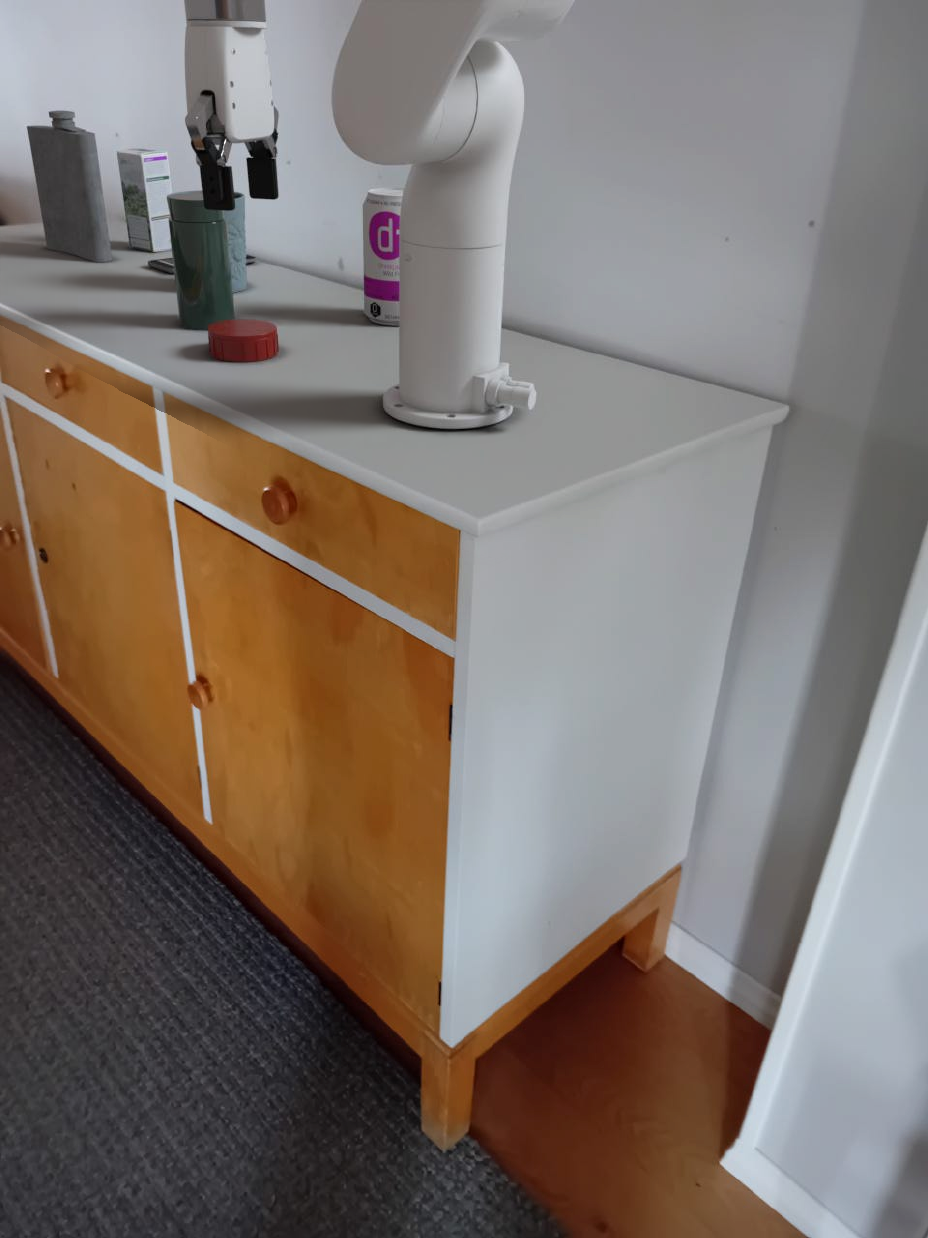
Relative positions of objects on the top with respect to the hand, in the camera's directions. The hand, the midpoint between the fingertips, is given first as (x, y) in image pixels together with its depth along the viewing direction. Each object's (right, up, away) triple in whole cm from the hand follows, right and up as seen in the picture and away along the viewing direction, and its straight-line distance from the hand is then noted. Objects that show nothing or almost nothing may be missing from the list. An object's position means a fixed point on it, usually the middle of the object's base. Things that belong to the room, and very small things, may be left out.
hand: (243, 203), depth 103 cm
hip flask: (-37, +14, +53) cm, 66 cm away
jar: (-8, -7, +19) cm, 22 cm away
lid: (-2, -11, +7) cm, 13 cm away
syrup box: (-27, +17, +59) cm, 67 cm away
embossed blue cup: (-12, +3, +36) cm, 38 cm away
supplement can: (+14, -5, +24) cm, 28 cm away
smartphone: (-17, +11, +48) cm, 52 cm away
